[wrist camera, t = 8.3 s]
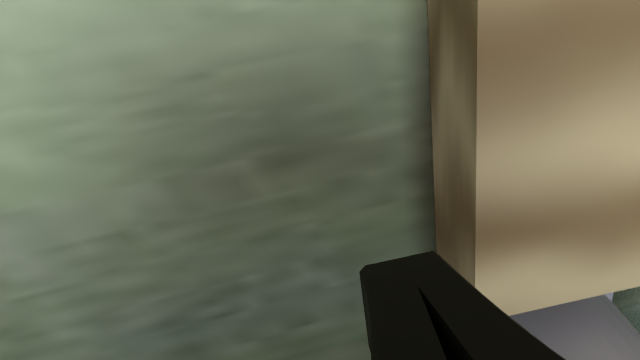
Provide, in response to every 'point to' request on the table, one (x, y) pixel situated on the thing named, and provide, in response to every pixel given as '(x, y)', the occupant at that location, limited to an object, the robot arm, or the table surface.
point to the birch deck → (537, 146)
